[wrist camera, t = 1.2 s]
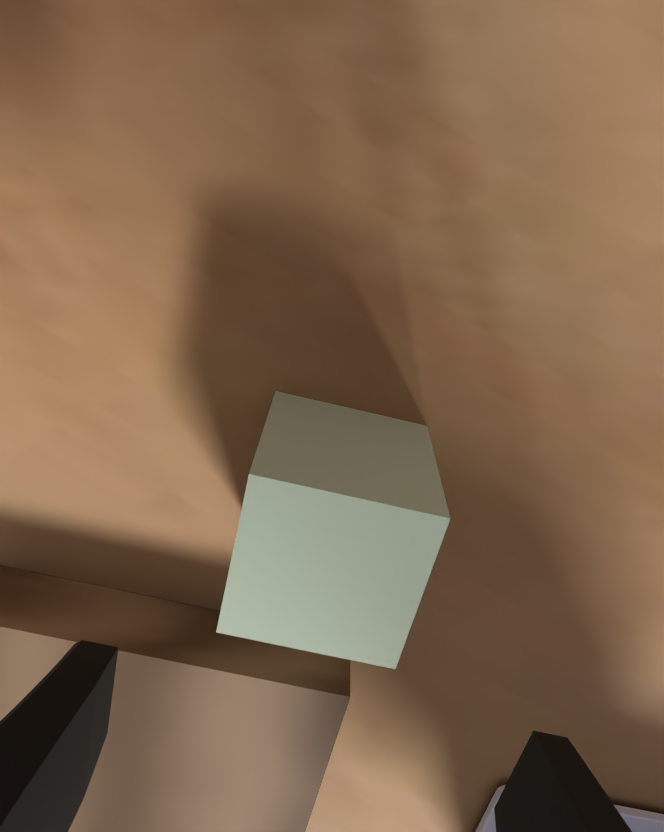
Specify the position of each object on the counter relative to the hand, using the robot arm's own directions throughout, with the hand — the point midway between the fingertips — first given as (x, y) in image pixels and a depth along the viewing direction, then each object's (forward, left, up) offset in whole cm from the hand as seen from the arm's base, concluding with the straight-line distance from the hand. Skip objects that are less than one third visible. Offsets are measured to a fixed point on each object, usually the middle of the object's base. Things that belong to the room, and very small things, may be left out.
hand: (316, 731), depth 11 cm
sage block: (0, 0, -9) cm, 9 cm away
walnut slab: (+4, +12, -10) cm, 16 cm away
